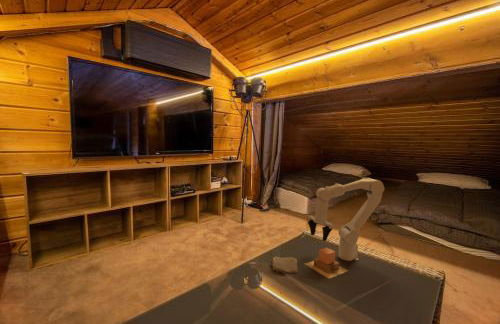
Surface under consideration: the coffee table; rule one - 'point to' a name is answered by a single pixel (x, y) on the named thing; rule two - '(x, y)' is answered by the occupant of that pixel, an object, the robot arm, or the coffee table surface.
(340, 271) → the plate
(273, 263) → the stone block
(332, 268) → the walnut slab
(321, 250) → the terracotta cube
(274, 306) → the coffee table surface
